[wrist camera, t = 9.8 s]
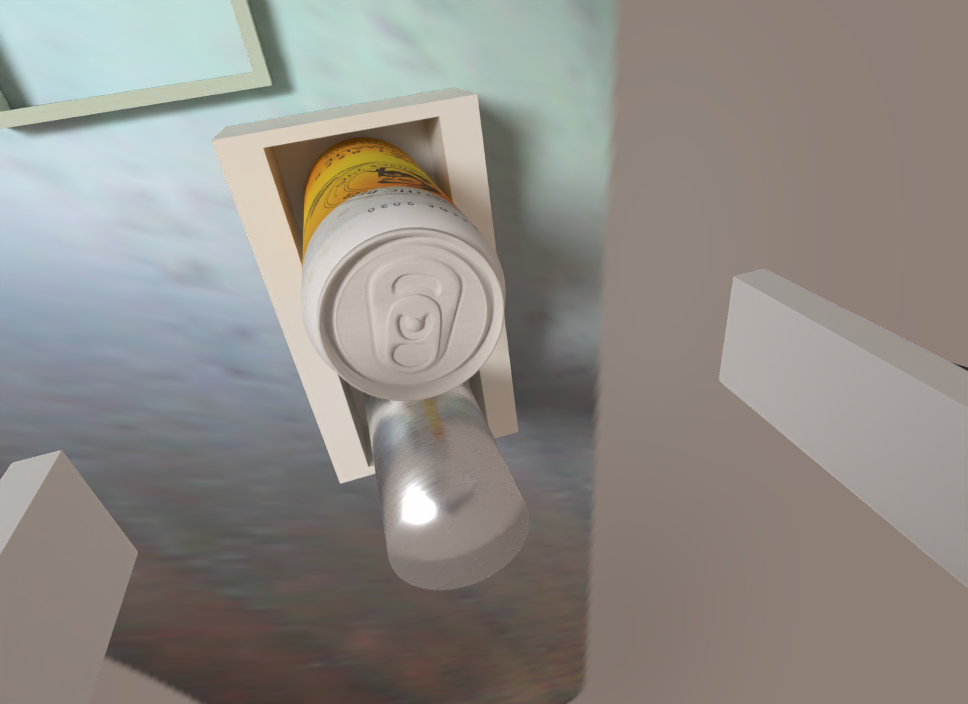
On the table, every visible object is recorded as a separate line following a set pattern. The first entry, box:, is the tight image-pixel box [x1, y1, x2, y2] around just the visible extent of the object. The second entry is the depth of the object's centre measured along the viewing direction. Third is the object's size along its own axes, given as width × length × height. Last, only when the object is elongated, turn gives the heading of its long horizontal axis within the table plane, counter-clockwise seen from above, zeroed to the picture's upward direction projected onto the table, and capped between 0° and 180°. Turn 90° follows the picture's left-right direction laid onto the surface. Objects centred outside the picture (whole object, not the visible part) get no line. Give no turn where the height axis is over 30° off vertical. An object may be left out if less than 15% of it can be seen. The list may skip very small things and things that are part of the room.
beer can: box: [301, 137, 506, 401], centre depth 21 cm, size 6×6×15 cm
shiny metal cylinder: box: [363, 381, 530, 590], centre depth 27 cm, size 6×6×14 cm
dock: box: [211, 88, 518, 484], centre depth 29 cm, size 19×11×4 cm, turn 7°
